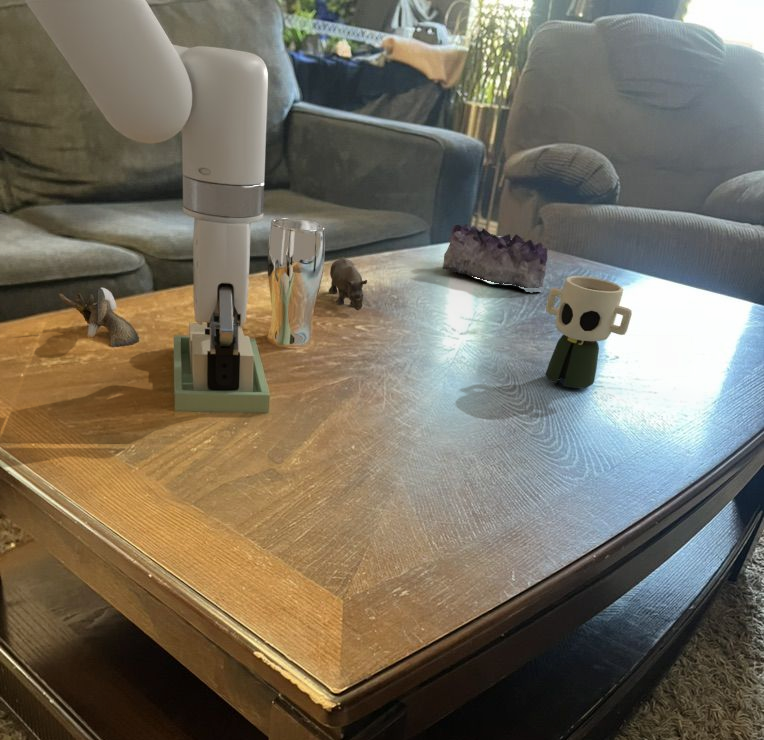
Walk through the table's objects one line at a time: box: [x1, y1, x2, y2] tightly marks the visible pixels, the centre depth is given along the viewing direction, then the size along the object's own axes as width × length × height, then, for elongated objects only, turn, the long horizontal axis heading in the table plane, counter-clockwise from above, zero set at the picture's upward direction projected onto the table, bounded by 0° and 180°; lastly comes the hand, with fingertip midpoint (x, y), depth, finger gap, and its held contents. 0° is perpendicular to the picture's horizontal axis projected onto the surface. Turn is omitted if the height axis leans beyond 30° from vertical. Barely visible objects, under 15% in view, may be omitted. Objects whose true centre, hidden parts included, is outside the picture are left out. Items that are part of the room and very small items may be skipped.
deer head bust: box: [58, 287, 140, 348], centre depth 94 cm, size 8×7×9 cm
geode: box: [442, 223, 549, 288], centre depth 141 cm, size 20×12×10 cm, turn 62°
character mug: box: [545, 275, 632, 389], centre depth 98 cm, size 11×7×13 cm, turn 55°
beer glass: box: [266, 217, 326, 350], centre depth 98 cm, size 7×7×15 cm
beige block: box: [188, 322, 245, 374], centre depth 90 cm, size 6×6×4 cm
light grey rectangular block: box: [192, 334, 254, 392], centre depth 82 cm, size 6×6×4 cm
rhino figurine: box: [328, 256, 368, 311], centre depth 118 cm, size 4×14×6 cm, turn 16°
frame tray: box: [173, 334, 271, 414], centre depth 87 cm, size 17×10×2 cm, turn 13°
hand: (221, 375), depth 83 cm, fingers closed on light grey rectangular block, 5 cm apart
